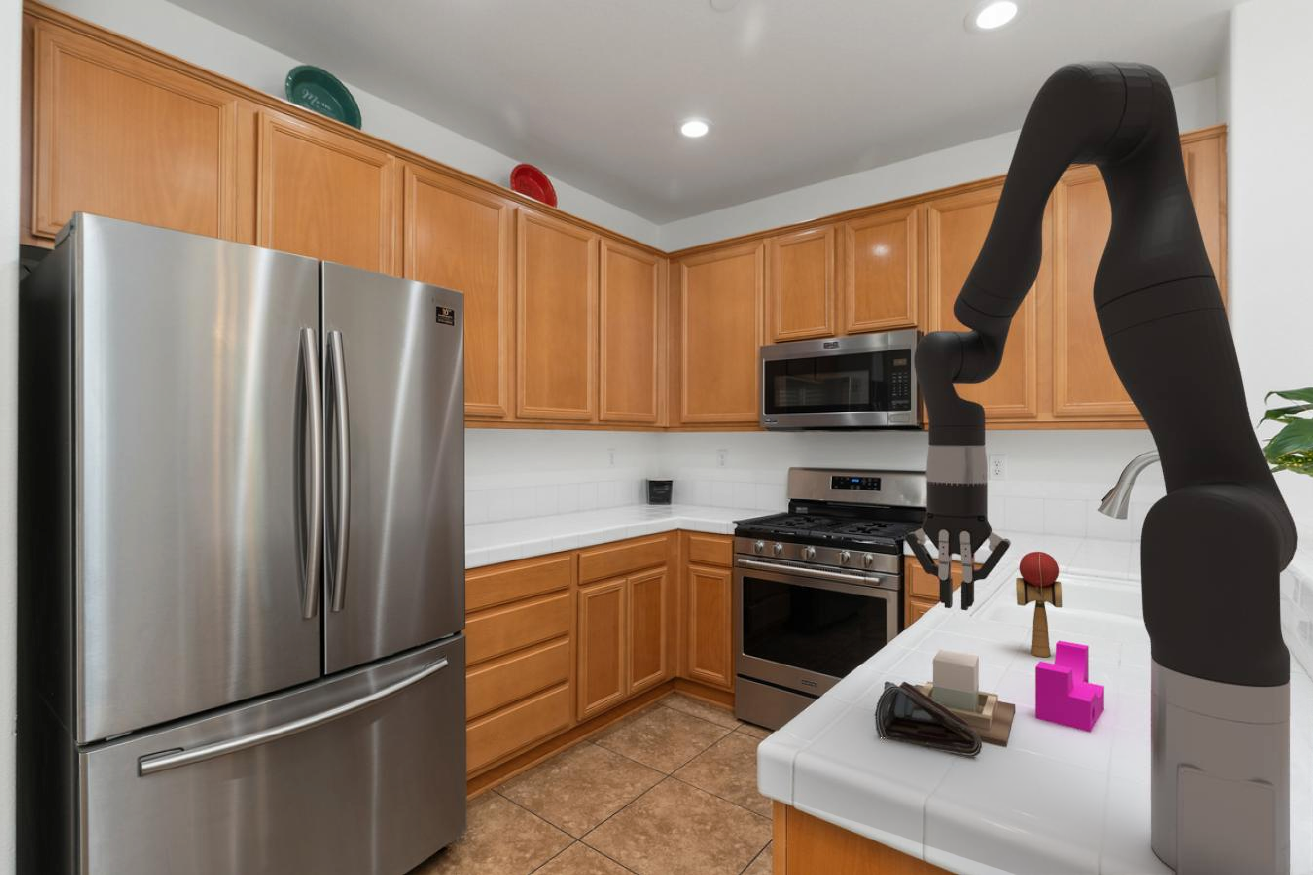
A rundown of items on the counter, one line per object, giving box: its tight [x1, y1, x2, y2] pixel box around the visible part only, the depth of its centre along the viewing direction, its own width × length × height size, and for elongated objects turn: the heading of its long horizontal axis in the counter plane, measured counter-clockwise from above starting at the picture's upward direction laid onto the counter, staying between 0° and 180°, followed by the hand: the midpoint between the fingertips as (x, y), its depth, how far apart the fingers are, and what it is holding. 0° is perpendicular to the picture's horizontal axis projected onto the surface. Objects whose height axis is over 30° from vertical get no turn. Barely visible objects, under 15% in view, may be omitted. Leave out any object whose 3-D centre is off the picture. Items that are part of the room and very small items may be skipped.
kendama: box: [1015, 551, 1063, 658], centre depth 113 cm, size 8×6×18 cm
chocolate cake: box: [874, 681, 983, 758], centre depth 81 cm, size 10×7×12 cm
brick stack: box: [932, 649, 980, 713], centre depth 87 cm, size 5×5×7 cm
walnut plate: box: [914, 681, 1016, 748], centre depth 87 cm, size 13×13×3 cm
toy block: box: [1034, 640, 1105, 733], centre depth 90 cm, size 15×6×8 cm, turn 138°
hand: (956, 607), depth 87 cm, fingers closed
